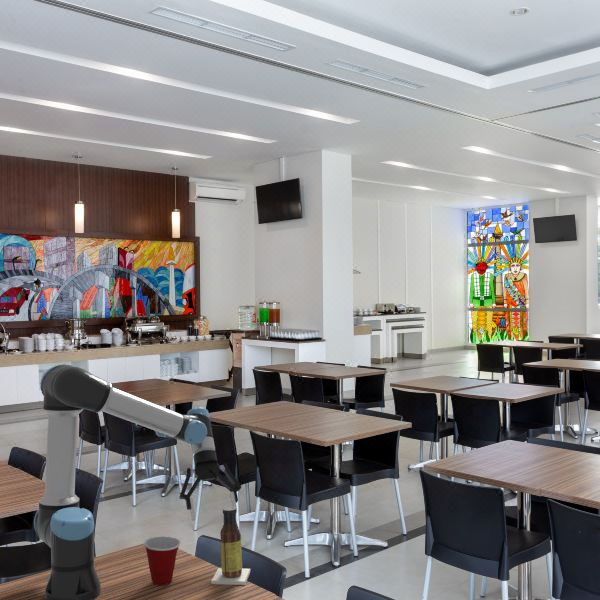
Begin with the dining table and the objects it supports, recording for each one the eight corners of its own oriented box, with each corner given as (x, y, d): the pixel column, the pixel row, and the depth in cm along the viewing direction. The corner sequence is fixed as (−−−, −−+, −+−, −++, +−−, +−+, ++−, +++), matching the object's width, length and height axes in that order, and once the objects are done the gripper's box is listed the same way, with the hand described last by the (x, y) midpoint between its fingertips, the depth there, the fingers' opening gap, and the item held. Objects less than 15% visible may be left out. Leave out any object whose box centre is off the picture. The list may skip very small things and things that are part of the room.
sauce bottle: (246, 572, 210) (245, 507, 210) (233, 580, 205) (233, 513, 205) (229, 568, 214) (228, 504, 214) (216, 575, 209) (215, 509, 208)
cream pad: (211, 584, 205) (211, 580, 205) (218, 571, 215) (218, 567, 215) (244, 584, 204) (244, 581, 204) (250, 571, 214) (250, 568, 214)
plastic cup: (172, 590, 201) (172, 548, 201) (138, 587, 203) (137, 546, 203) (186, 575, 211) (186, 536, 212) (153, 573, 214) (152, 534, 214)
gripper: (238, 452, 240) (249, 513, 229) (165, 461, 231) (174, 525, 221) (242, 444, 234) (254, 506, 223) (168, 453, 225) (177, 518, 215)
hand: (214, 516), depth 222 cm, fingers open, 13 cm apart
